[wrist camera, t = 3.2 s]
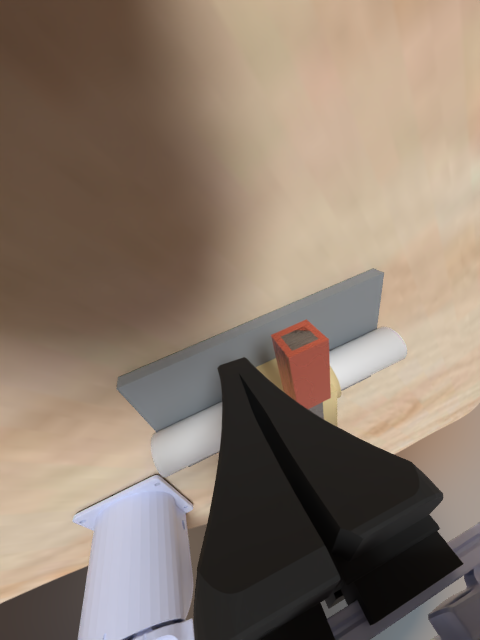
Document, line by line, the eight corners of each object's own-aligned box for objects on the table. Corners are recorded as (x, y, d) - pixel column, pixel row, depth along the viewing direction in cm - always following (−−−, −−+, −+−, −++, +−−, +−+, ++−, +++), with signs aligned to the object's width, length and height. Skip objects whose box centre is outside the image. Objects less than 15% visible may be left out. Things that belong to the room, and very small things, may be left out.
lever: (321, 429, 16) (336, 451, 15) (291, 445, 16) (304, 468, 15) (312, 316, 10) (335, 336, 9) (264, 337, 10) (281, 361, 9)
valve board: (363, 369, 25) (410, 411, 20) (187, 456, 22) (197, 526, 18) (373, 268, 18) (448, 298, 13) (118, 377, 15) (106, 459, 11)
